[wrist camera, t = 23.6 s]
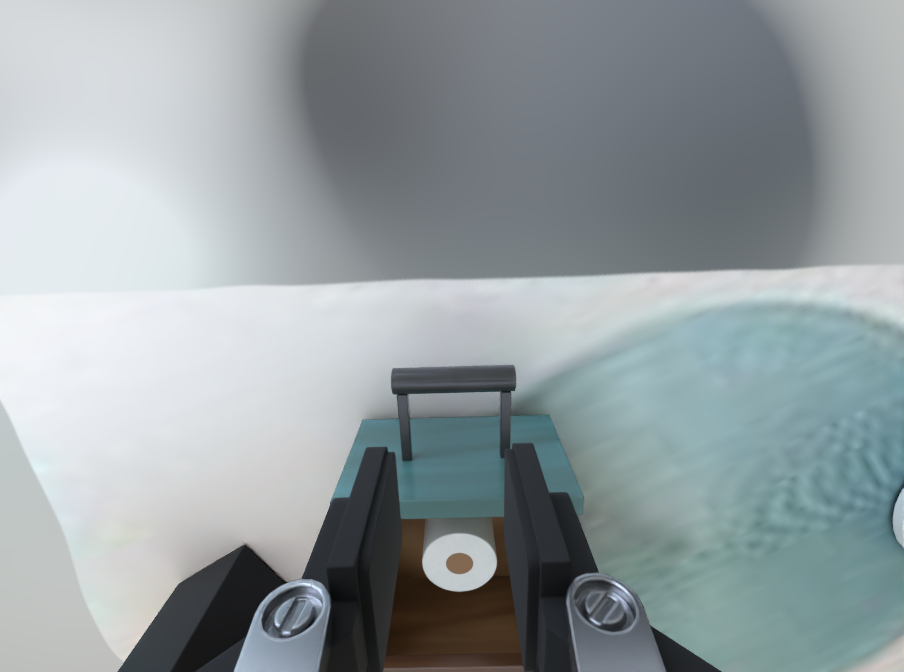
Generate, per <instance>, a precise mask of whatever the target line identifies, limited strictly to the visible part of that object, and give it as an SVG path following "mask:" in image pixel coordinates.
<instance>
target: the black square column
mask: <svg viewBox="0 0 904 672" xmlns="http://www.w3.org/2000/svg"><path fill="white" fill-rule="evenodd" d="M284 584H285V583H284V582H283V581H282V580H281V579H280V578H279V577H278V576H277V575H276V574H275V573H274V572H273V571H272V570H271V569H270V568H269V567H268V566H267V565H265V564H264V563H263V562H262V561H261V560H260V559H259V558H258V557H257V556H256V555H255V554H254V553H253V552H252V551H251V550H250V549H249V548H248V547H247V546H246V545H243V546H242V547H240V548H238V549H236V550H235V551H233V552H231V553H230V554H228V555H226V556H225V557H223V558H221V559H219V560H218V561H216V562H214V563H213V564H211V565H209V566H208V567H206V568H204V569H203V570H201V571H199V572H198V573H196V574H194V575H193V576H191V577H189V578H188V579H186V580H184V581H183V582H181V583H180V584H178V586H177V587H176V588H175V590H174V591H173V593H172V594H171V596H170V597H169V599H168V600H167V601H166V603H165V604H164V606H163V607H162V609H161V610H160V612H159V613H158V614H157V616H156V617H155V619H154V620H153V622H152V623H151V625H150V626H149V627H148V629H147V630H146V632H145V633H144V635H143V636H142V637H141V639H140V640H139V642H138V643H137V645H136V646H135V648H134V649H133V650H132V652H131V653H130V655H129V656H128V658H127V659H126V661H125V662H124V663H123V665H122V666H121V668H120V669H119V671H118V672H195V671H197V670H198V669H200V668H201V667H203V666H204V665H206V664H207V663H208V662H210V661H211V660H213V659H214V658H216V657H217V656H219V655H220V654H222V653H223V652H224V651H226V650H227V649H229V648H230V647H232V646H233V645H235V644H236V643H238V642H239V641H240V640H242V639H243V638H245V637H246V636H247V634H248V631H249V628H250V626H251V623H252V620H253V617H254V615H255V613H256V611H257V609H258V607H259V605H260V604H261V602H262V601H263V600H264V599H265V598H266V597H267V596H268V595H269V594H270V593H271V592H273V591H274V590H275V589H277V588H278V587H280V586H282V585H284Z"/></svg>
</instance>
